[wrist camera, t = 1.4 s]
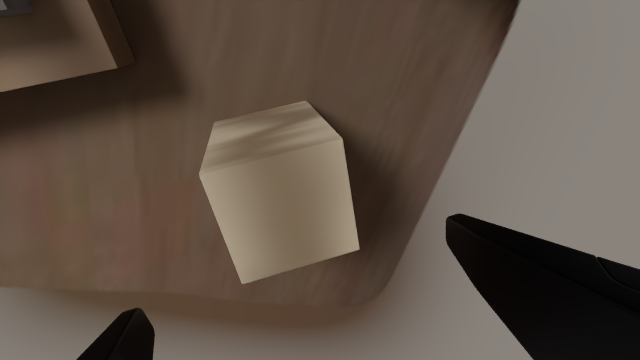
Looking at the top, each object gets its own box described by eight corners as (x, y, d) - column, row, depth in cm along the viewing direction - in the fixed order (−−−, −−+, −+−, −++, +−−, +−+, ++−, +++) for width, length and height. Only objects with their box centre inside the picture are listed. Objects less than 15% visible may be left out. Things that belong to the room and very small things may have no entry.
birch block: (306, 100, 17) (342, 138, 11) (321, 180, 20) (359, 249, 13) (214, 121, 17) (198, 174, 10) (241, 201, 19) (242, 284, 13)
